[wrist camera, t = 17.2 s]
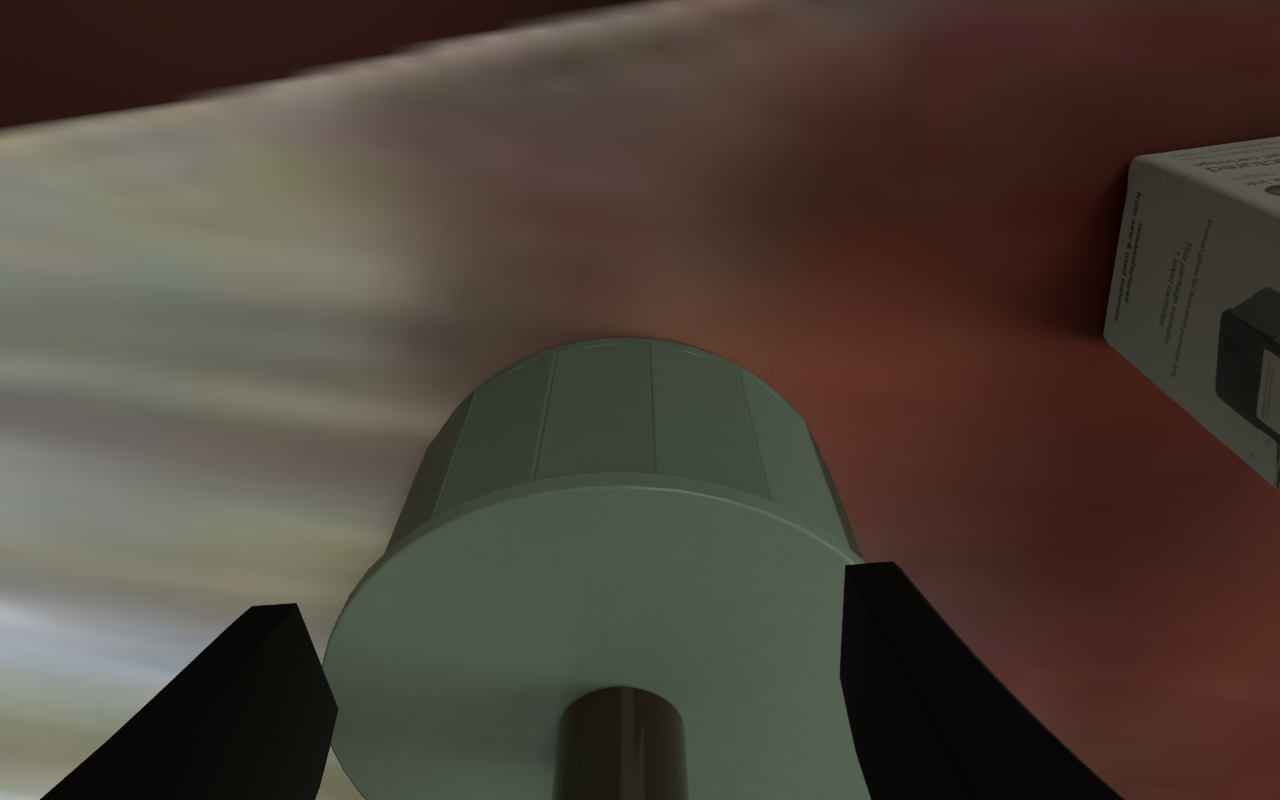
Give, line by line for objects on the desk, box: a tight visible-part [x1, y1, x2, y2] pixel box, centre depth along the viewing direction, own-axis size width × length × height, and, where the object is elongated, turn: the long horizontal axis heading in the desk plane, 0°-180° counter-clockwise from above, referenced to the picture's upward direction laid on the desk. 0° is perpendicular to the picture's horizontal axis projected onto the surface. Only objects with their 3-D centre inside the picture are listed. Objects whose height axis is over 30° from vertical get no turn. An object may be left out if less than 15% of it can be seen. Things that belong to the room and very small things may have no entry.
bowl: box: [384, 338, 864, 561], centre depth 20 cm, size 11×11×6 cm
